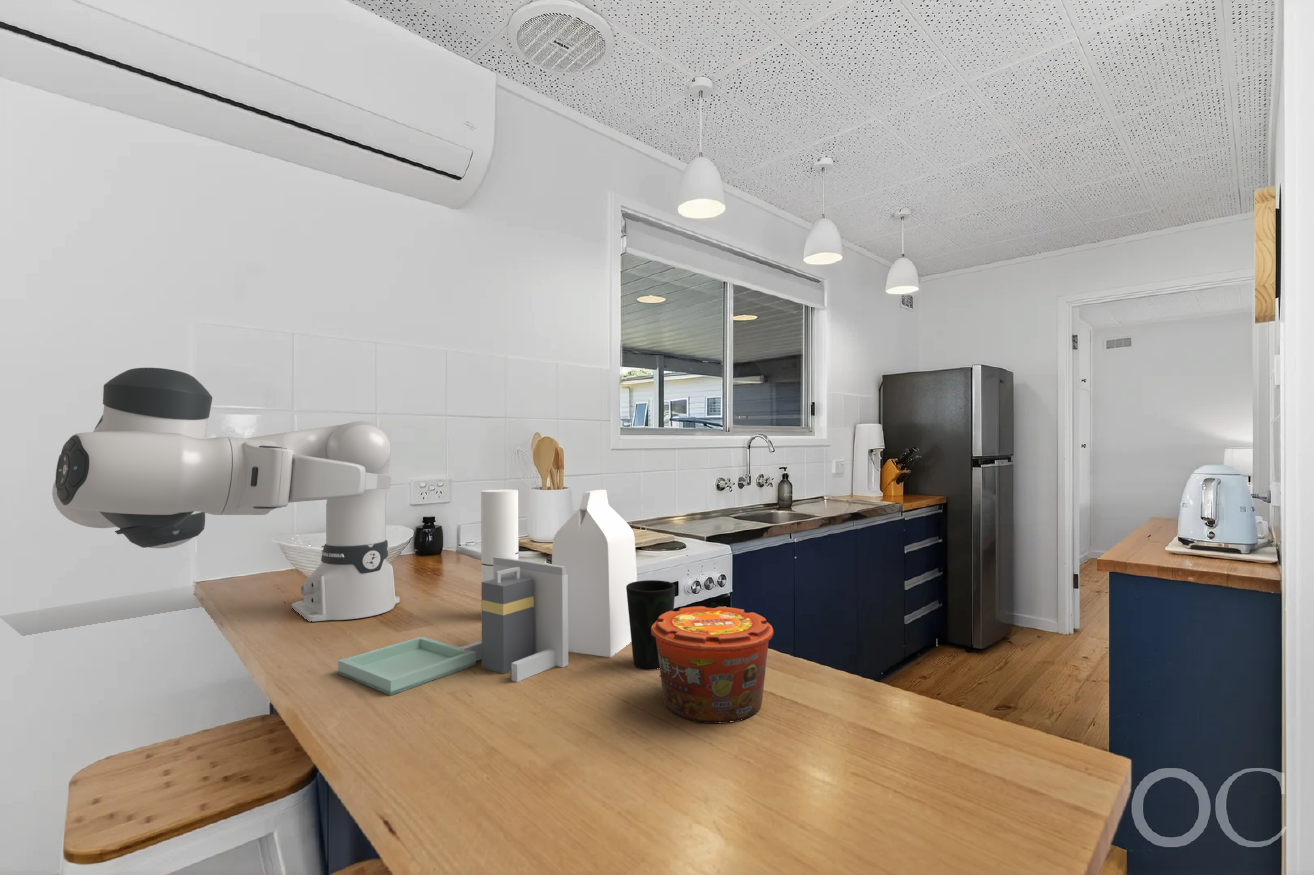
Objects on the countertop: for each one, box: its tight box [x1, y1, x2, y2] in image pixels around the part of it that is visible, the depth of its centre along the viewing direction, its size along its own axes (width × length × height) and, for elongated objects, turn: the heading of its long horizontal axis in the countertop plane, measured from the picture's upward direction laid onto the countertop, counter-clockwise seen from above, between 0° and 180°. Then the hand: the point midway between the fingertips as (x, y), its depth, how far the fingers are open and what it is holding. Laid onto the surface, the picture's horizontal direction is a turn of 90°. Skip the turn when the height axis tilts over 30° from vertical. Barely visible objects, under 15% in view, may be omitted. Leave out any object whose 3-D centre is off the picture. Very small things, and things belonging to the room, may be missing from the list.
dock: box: [460, 556, 569, 683], centre depth 95 cm, size 16×9×15 cm, turn 54°
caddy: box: [480, 567, 534, 675], centre depth 95 cm, size 5×6×15 cm
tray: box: [337, 635, 477, 696], centre depth 93 cm, size 14×14×2 cm
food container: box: [651, 605, 775, 724], centre depth 80 cm, size 16×16×11 cm
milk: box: [551, 489, 638, 658], centre depth 105 cm, size 12×12×26 cm
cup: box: [626, 579, 676, 671], centre depth 95 cm, size 8×8×12 cm
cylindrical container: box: [480, 488, 519, 596], centre depth 121 cm, size 7×7×25 cm
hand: (373, 481), depth 81 cm, fingers open, 8 cm apart
